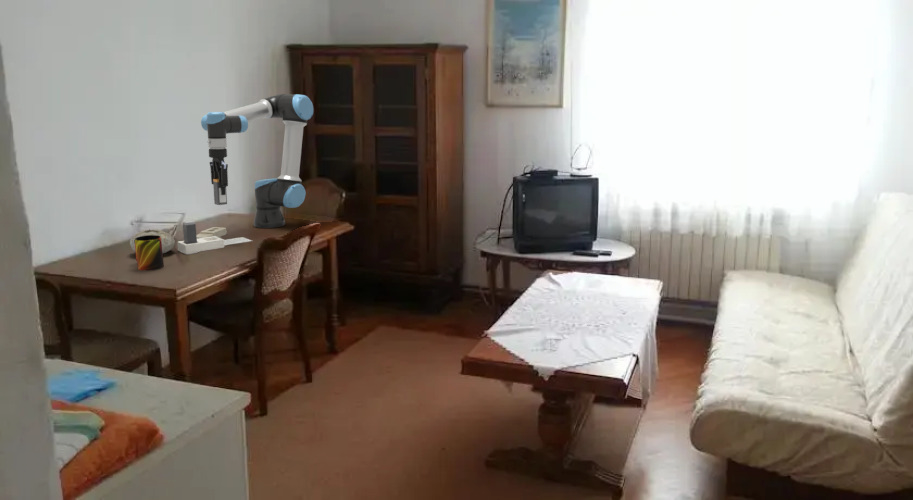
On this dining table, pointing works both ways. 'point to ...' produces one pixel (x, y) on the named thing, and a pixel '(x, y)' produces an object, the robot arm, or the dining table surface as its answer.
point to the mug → (149, 252)
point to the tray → (236, 240)
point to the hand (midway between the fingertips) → (220, 201)
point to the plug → (217, 193)
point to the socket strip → (197, 240)
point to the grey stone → (165, 237)
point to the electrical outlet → (212, 232)
